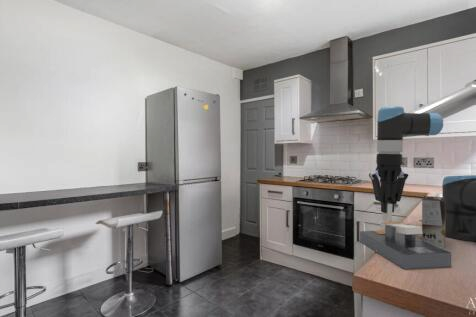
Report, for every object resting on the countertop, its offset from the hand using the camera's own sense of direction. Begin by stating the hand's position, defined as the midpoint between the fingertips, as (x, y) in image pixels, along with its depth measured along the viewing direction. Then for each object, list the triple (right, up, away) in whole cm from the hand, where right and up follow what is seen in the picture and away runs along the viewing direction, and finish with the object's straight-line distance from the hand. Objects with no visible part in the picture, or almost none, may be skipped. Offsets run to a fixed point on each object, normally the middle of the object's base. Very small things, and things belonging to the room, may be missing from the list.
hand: (387, 221), depth 89 cm
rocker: (+1, -1, -6) cm, 6 cm away
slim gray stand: (+11, -8, -4) cm, 14 cm away
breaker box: (+1, -9, -6) cm, 10 cm away
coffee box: (+18, -8, +3) cm, 20 cm away
